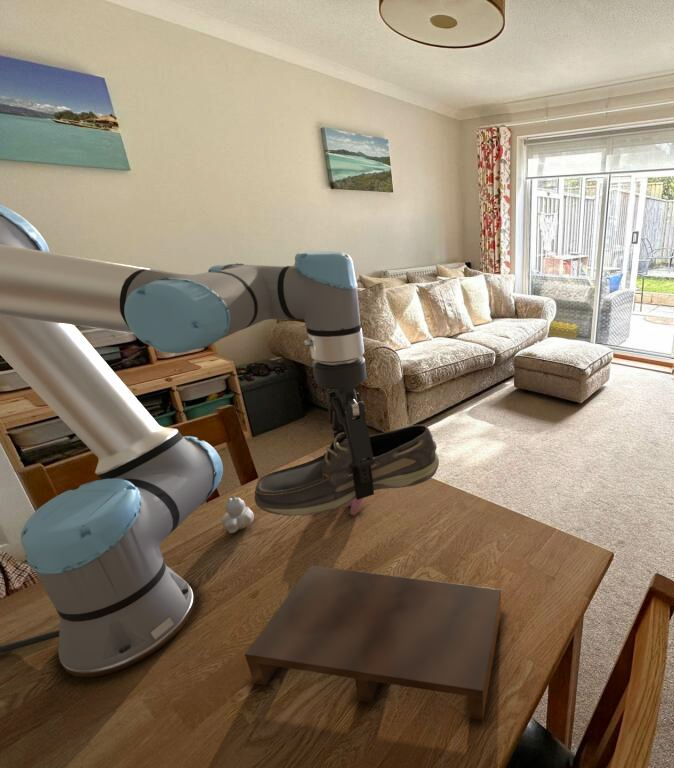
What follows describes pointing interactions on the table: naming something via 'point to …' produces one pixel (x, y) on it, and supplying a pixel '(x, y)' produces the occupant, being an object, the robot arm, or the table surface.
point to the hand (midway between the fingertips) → (355, 478)
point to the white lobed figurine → (237, 515)
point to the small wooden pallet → (384, 633)
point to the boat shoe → (349, 473)
